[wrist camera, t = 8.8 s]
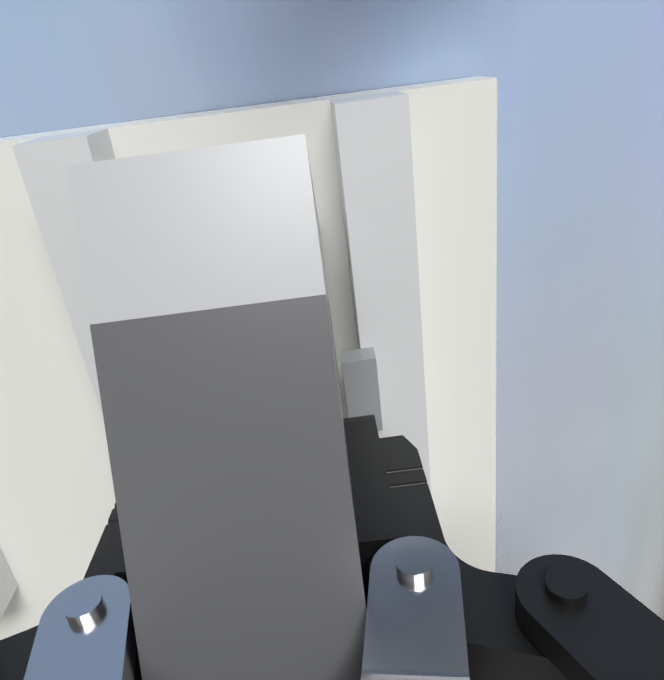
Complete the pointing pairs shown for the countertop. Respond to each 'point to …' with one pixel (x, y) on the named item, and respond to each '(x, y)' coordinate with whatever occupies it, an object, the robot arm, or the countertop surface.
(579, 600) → the robot arm
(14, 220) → the board
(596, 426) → the countertop surface
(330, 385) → the grey rectangular block
